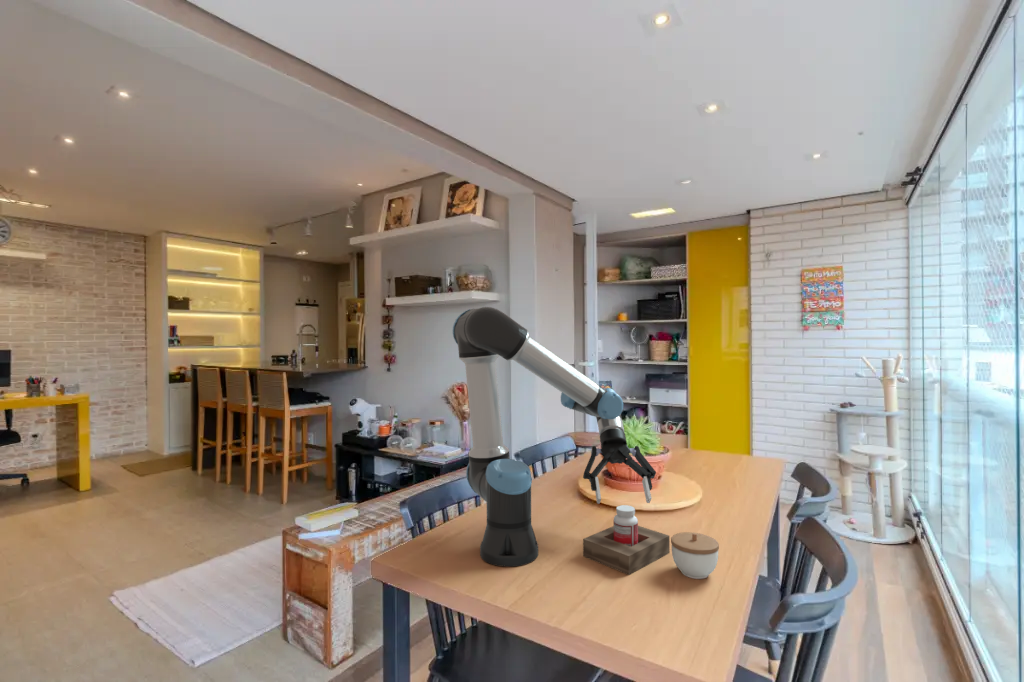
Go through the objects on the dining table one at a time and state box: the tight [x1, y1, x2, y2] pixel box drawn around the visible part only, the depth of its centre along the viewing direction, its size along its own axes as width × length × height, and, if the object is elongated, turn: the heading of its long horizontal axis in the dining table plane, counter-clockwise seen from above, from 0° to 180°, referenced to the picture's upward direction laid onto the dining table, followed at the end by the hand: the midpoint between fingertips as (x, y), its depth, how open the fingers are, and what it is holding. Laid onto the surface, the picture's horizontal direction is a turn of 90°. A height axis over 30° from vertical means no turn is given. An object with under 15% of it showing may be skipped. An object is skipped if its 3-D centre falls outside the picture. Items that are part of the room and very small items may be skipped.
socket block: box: [582, 525, 671, 576], centre depth 131 cm, size 18×14×4 cm
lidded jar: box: [670, 531, 720, 580], centre depth 121 cm, size 11×11×9 cm
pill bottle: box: [613, 504, 639, 547], centre depth 131 cm, size 6×6×11 cm
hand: (624, 501), depth 137 cm, fingers open, 13 cm apart
